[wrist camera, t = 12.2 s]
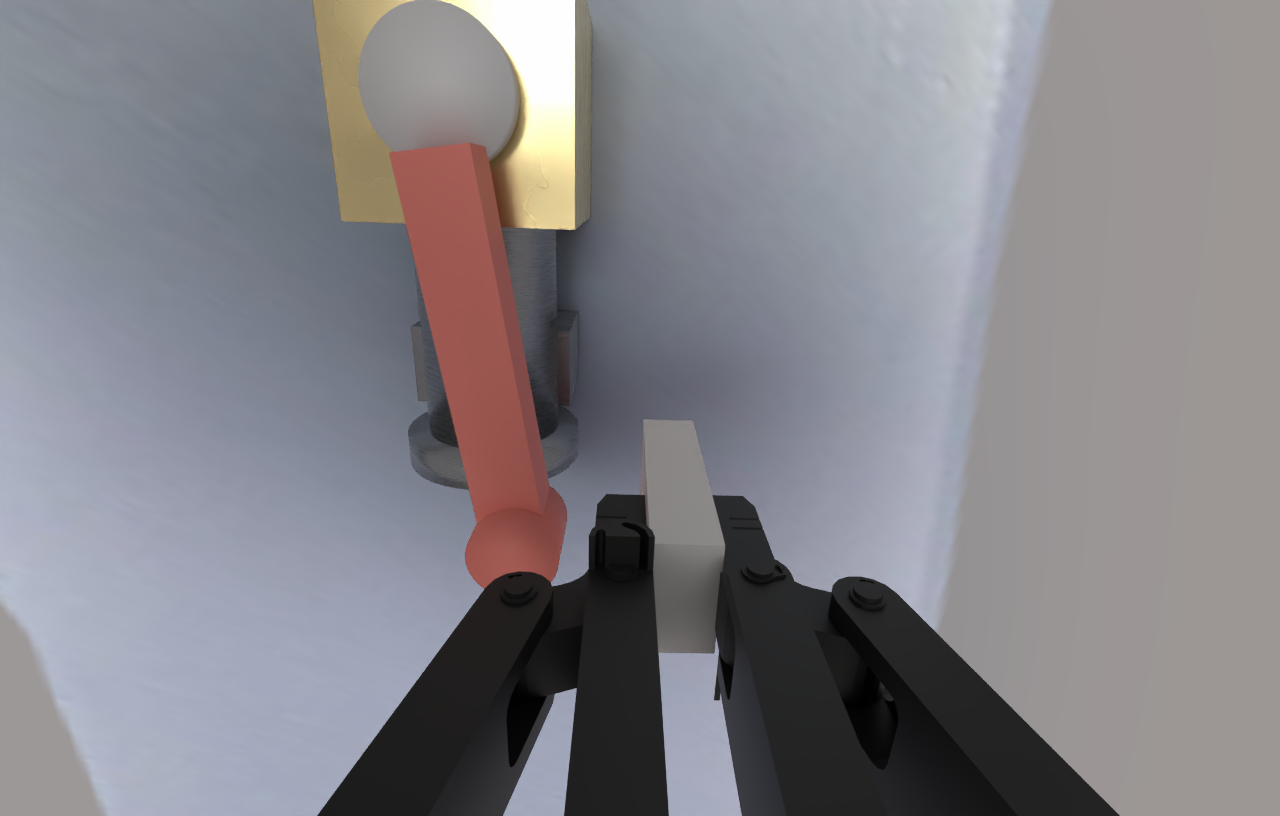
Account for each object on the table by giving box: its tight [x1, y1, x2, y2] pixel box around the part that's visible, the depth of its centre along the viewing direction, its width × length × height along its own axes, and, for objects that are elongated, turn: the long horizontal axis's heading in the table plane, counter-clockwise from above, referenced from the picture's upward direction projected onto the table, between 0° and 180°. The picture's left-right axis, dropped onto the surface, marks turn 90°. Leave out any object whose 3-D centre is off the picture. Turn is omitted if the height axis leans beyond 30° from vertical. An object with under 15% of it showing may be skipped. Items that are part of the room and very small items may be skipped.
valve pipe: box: [313, 0, 592, 489], centre depth 20 cm, size 25×7×8 cm, turn 178°
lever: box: [358, 0, 567, 589], centre depth 17 cm, size 16×4×3 cm, turn 6°
